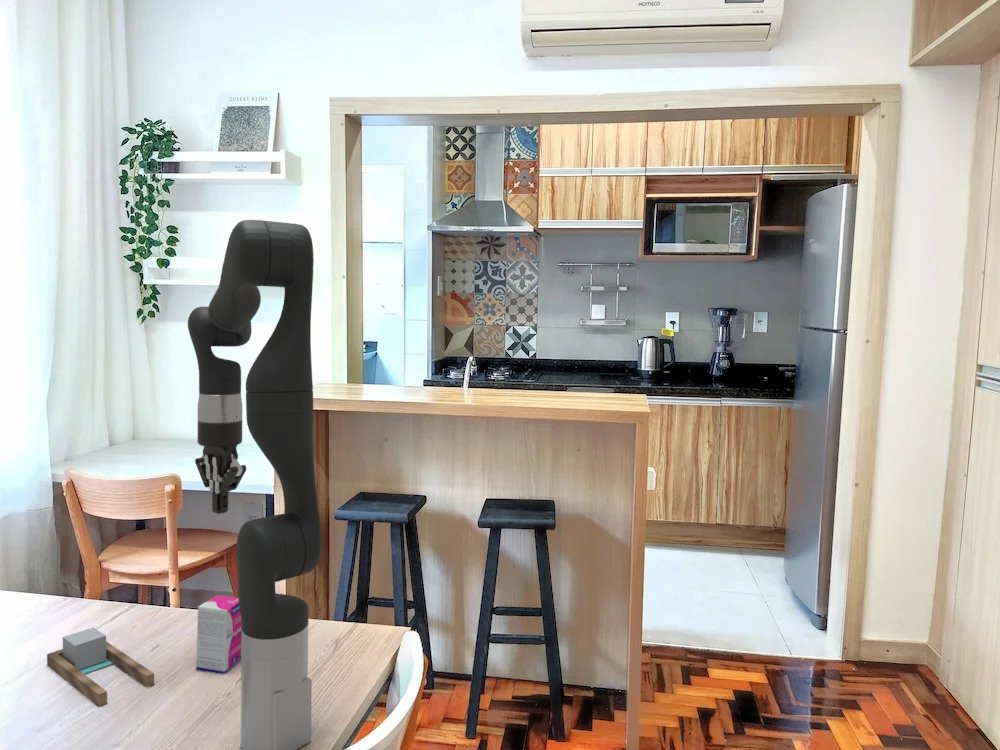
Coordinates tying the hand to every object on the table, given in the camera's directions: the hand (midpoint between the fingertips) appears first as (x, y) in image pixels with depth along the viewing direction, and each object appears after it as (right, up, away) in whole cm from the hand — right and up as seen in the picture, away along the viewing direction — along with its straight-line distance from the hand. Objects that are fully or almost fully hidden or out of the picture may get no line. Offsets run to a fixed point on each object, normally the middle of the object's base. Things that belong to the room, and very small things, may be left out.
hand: (220, 512), depth 124 cm
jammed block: (-22, -26, -5) cm, 34 cm away
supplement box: (+1, -27, -3) cm, 27 cm away
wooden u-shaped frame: (-17, -26, -8) cm, 32 cm away
